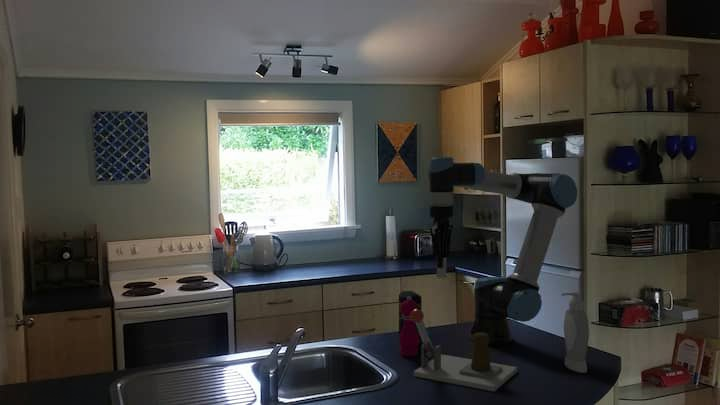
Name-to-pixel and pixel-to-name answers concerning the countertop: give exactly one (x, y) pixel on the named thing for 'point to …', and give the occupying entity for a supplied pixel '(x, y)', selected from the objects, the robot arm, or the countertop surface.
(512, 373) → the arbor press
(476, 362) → the cork
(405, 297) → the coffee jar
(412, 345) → the pepper mill
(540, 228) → the robot arm
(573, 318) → the soap bottle
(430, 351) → the press lever
